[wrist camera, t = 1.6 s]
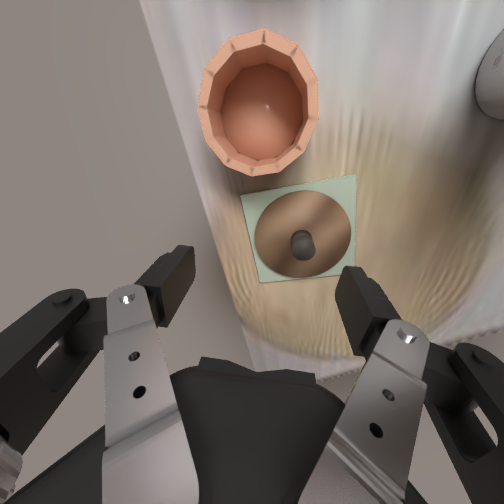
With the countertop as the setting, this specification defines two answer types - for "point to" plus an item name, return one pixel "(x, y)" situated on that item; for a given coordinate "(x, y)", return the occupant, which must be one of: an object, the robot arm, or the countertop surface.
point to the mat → (334, 187)
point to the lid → (302, 234)
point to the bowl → (258, 102)
